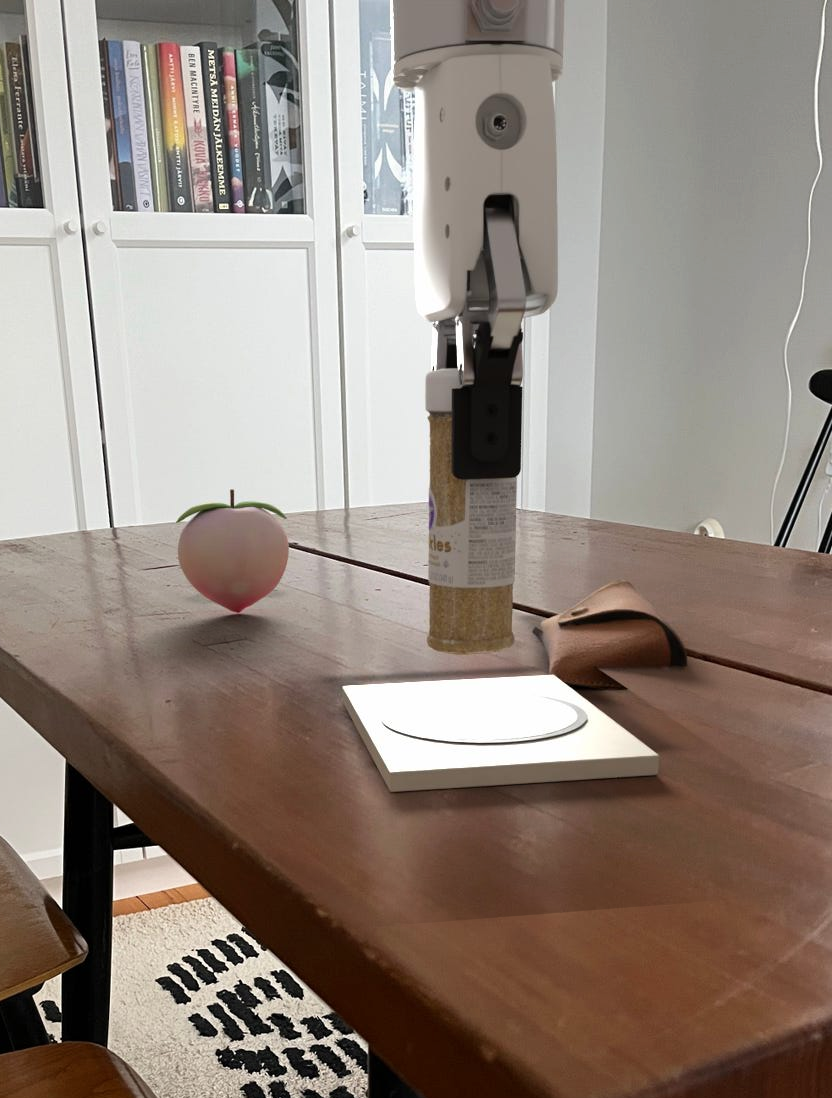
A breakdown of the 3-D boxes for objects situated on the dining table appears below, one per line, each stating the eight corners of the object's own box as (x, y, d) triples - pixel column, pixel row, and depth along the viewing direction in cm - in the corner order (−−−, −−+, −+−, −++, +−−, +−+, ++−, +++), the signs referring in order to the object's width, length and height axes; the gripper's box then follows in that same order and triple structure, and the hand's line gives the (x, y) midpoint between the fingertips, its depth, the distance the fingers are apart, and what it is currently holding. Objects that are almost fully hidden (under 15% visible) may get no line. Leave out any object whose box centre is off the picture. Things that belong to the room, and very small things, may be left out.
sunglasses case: (524, 627, 93) (573, 547, 91) (604, 674, 94) (655, 596, 92) (548, 682, 77) (609, 586, 74) (645, 738, 78) (708, 645, 75)
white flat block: (553, 690, 77) (554, 672, 77) (658, 775, 60) (660, 752, 60) (342, 702, 76) (341, 684, 75) (390, 792, 59) (389, 769, 58)
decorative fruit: (213, 627, 100) (205, 496, 97) (168, 613, 107) (159, 490, 103) (314, 613, 105) (309, 488, 101) (265, 601, 111) (259, 483, 108)
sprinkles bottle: (413, 644, 66) (410, 369, 61) (493, 636, 67) (496, 367, 63) (447, 660, 62) (447, 368, 57) (531, 652, 63) (537, 365, 59)
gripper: (622, -16, 48) (601, 484, 54) (513, 84, 64) (507, 462, 70) (427, -17, 47) (429, 490, 53) (366, 84, 63) (373, 466, 69)
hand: (473, 470), depth 62 cm, fingers closed on sprinkles bottle, 4 cm apart
